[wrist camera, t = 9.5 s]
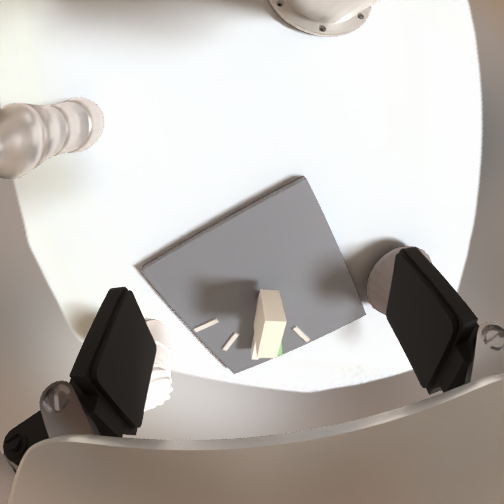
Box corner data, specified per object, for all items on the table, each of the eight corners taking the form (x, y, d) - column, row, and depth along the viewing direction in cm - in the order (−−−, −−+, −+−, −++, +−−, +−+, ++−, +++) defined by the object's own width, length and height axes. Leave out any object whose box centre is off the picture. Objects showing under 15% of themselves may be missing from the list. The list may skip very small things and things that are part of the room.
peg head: (258, 279, 39) (265, 320, 32) (276, 280, 39) (286, 321, 32) (246, 348, 45) (249, 390, 38) (261, 349, 45) (266, 390, 38)
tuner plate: (303, 176, 35) (307, 179, 33) (362, 308, 45) (366, 315, 44) (143, 265, 39) (140, 272, 37) (233, 367, 49) (234, 375, 48)
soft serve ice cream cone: (160, 354, 47) (145, 434, 33) (121, 327, 44) (93, 407, 30) (192, 331, 45) (182, 418, 31) (150, 299, 42) (123, 386, 27)
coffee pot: (349, 264, 41) (393, 335, 28) (413, 224, 39) (475, 279, 26) (386, 344, 50) (418, 405, 37) (436, 312, 48) (476, 367, 35)
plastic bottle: (99, 155, 32) (-8, 215, 14) (57, 138, 30) (-57, 185, 12) (117, 106, 29) (7, 121, 11) (74, 91, 27) (-46, 102, 10)
